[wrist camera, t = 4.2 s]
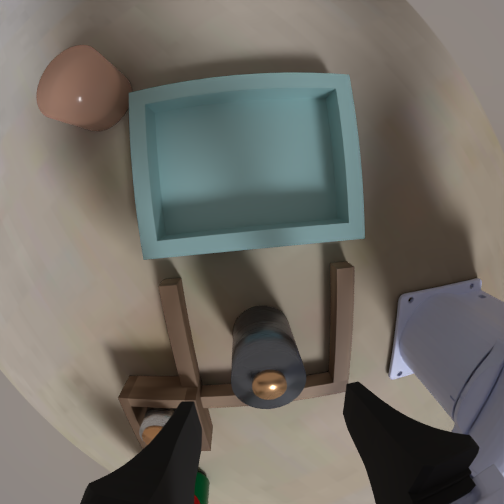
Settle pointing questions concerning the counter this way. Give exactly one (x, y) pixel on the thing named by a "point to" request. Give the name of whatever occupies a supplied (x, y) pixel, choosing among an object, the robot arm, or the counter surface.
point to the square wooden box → (162, 402)
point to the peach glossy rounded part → (83, 90)
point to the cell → (265, 359)
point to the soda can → (201, 489)
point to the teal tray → (245, 163)
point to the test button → (154, 422)
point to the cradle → (314, 383)
